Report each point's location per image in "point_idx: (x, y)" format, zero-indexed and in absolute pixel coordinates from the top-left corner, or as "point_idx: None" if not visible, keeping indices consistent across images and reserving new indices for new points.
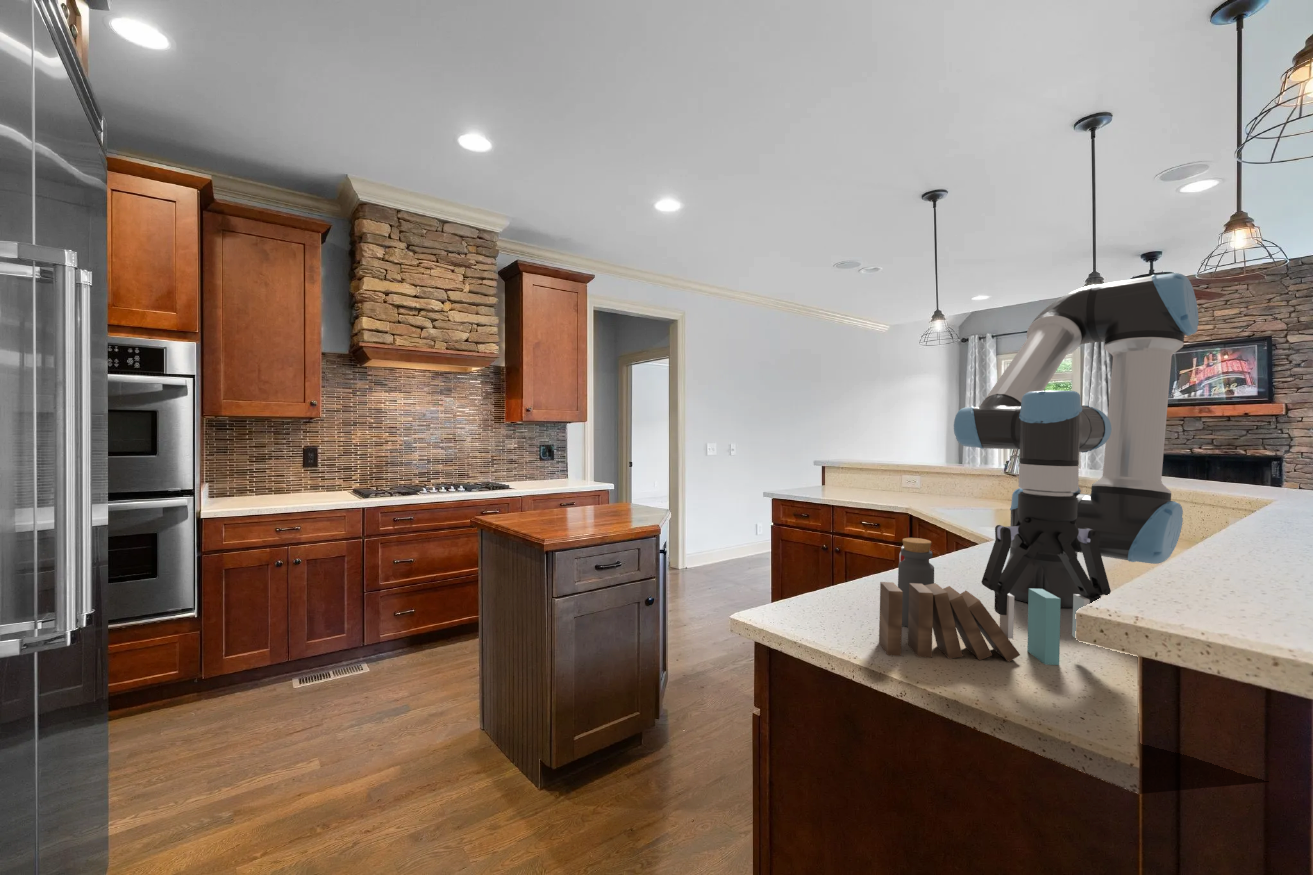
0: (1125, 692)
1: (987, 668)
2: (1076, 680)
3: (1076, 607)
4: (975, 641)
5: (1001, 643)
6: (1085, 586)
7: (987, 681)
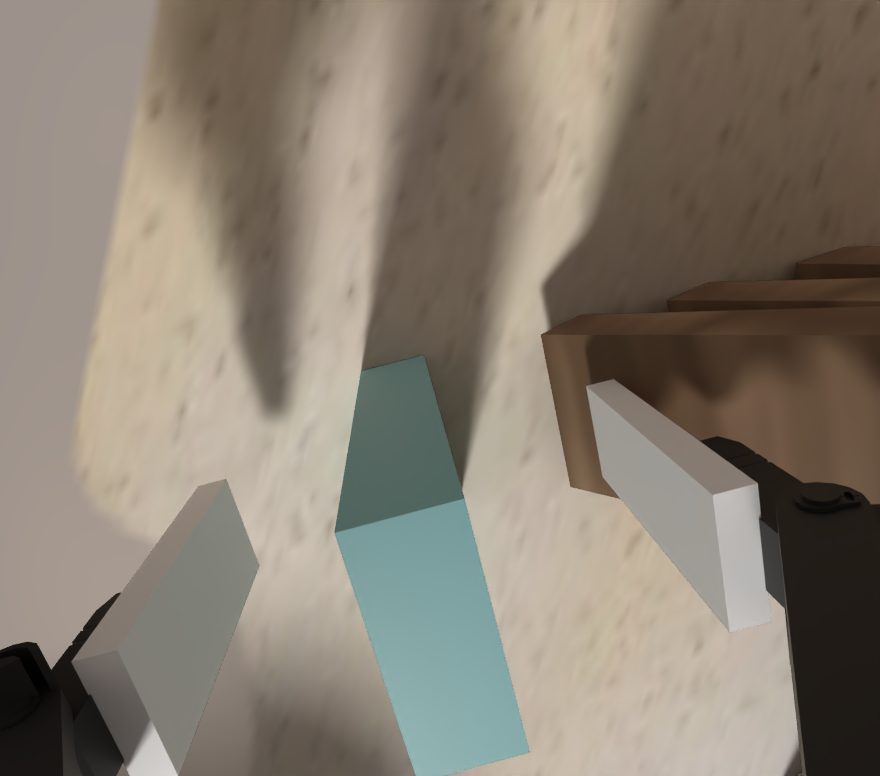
0: (138, 129)
1: (701, 189)
2: (328, 199)
3: (194, 659)
4: (790, 285)
5: (652, 321)
6: (41, 763)
7: (749, 6)
